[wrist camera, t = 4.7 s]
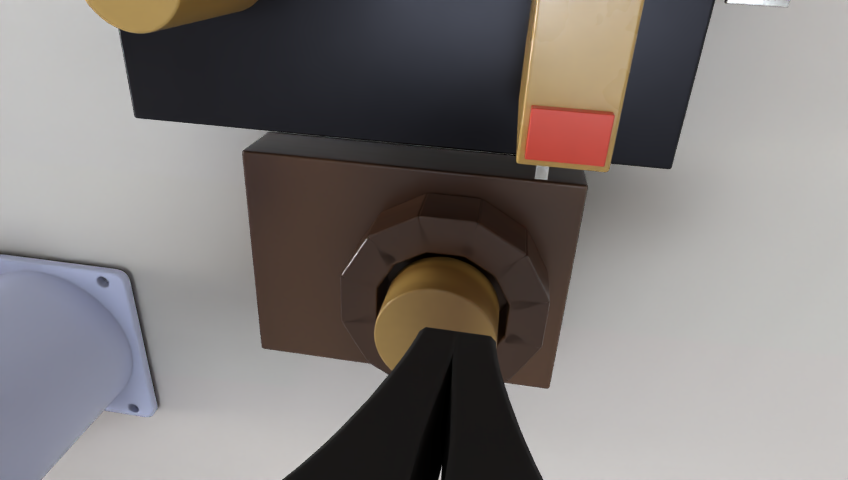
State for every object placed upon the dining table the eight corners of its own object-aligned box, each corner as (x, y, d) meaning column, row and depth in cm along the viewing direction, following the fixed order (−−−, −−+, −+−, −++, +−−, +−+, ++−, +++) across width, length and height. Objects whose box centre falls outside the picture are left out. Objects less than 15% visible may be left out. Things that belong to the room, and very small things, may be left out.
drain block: (282, 316, 24) (240, 379, 21) (267, 131, 21) (214, 169, 17) (547, 352, 23) (551, 426, 20) (582, 161, 19) (594, 209, 16)
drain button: (386, 342, 20) (372, 381, 18) (388, 249, 18) (374, 281, 16) (493, 357, 19) (489, 398, 17) (505, 263, 17) (503, 297, 16)
